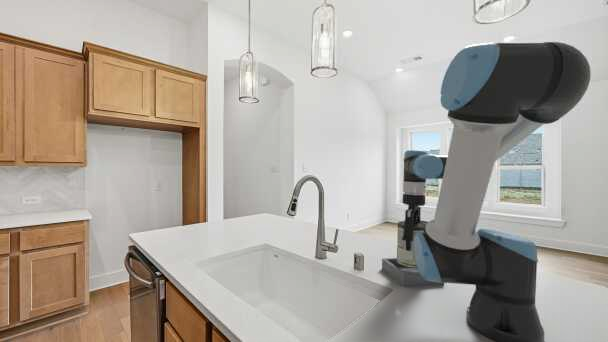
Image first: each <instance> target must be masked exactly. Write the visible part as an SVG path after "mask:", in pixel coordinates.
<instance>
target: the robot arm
mask: <svg viewBox="0 0 608 342" xmlns="http://www.w3.org/2000/svg"><path fill="white" fill-rule="evenodd" d="M591 76H592V75H591V67H590V63H589V61H588V58H587V57H586V56H585V55H584V54H583V52H581V50H579V49H578V48H576V47H574V46H573V45H570V44H567V43H565V42H560V41H559V42H558V41H546V42H545V41H544V42H496V43H495V42H489V43H478V44H472V45H468V46H466V47H464V48H462V49H461V50H459V52H457V53H456V54H455V56H454V57H453V59H452V60H451V61H450V63H449V64H448V66H447V69H446V71H445V74H444V76H443V79H442V84H441V87H440V104H441V106H442V107H443V108H444V109H445V110H447V111H448V112H447V119H449V120H450V122H451V123H452V124H453V128H452V133H451V138H450V142H449V147H448V152H447V155H446V154H444V155H440V154H439V155H438V154H430V153H429V154H428V153H427V151H425V150H420V149H419V150H418V149H417V150H416V149H415V150H413V149H411V150H410V149H409V150H406V151H405V152H404V155H403V156H404V157H403V182H402V192H403V194H402V204H403V205H406V206H408V207H407V209H406V210H405V211H404V212H405V215H404V221H405V225H404V234H403V238H402V240H405V243H404V259H407V260H413V229H412V228H413V227H414V226H415V223H419V222H420V223H421V221H422V220H421V217H422V216H421V209H422V208H421V206H422V207H423V206H425V205H426V195H425V194H426V188H428V185H427V183H426V182H427V180H432V179H434V180H435V179H437V180H438V179H439V180H441V184H440V190H439V194H438V200H437V204H436V209H435V214H434V218H433V219H432V220H430V221H427V222H428V223H427V224H426V227H425V232H424V233H422V232H419V233H416V234H415V236H414V253H415V259H416V263H417V267H418V270H419V272H420V274H421V276H422V277H423V278H424V279H425V280H428V281H433V282H439V283H444V284H458V285H459V284H460V285H471V286H472V285H473V286H475V290H474V292H473V294H472V297H471V300H470V302H469V304H468V305H467V308H466V314H465V315H466V321H467V323H468V324H469V326H470V327H471V328H473V329H474V330H475V331H477V333H480V334H481V335H483V336H484V337H487V338H489V339H491V340H493V341H496V342H545V331H544V328H543V325H542V324H541V320H540V316H539V313H538V310H537V307H536V294H537V273H538V272H537V271H538V270H537V269H538V263H539V260H538V248H537V246H536V244H535V243H534V242H533V241H531V240H529V239H528V238H525V237H521V236H518V235H516V234H512V233H511V234H510V233H507V232H503V231H498V230H494V229H487V228H480V229H478V230H477V231H476V229H477V225H478V222H479V219H480V216H481V215H480V214H481V211H482V207H483V205H484V201H485V197H486V194H487V191H488V190H487V189H488V187H489V184H490V180H491V177H492V172H493V170H494V166H495V163H496V162H497V161H498V160H499V159H500V158H502V157H503V156H504V155H506V154H507V153H508V152H509V151H511V150H512V149H513V148H514V147H516V146H517V145H519V144H520V143H521V142H523V141H524V140H525V139H526V138H528V137H529V136H530V135H531V134H533V133H534V132H536V130H538V129H539V128H541V127H542V126H543V125H550V124H553V123H556V122H557V121H559V120H560V119H561V118H563V117H565V116H566V114H568V113H569V112H570V111H572V110H573V109H574V108H575V107H576V106H577V105H578V103H579V102H580V101H581V100H582V99H583V97H584V95H585V94H586V92H587V90H588V88H589V85H590V81H591ZM407 236H409V237H407Z"/></svg>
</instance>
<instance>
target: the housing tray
mask: <svg viewBox="0 0 608 342" xmlns="http://www.w3.org/2000/svg"><path fill="white" fill-rule="evenodd" d="M381 260H382V261H381V270H383V271H384V272H385V273H386V274H388V276H390V277H391V278H393V279H394V280H396V281H397V283H398V284H400V285H402V286H403V287H414V286H433V285H444V284H445V283H439V282H433V281H428V280H425V279H424V278H423V277H422V276H421V274H420V272H419V270H418V268H412V267H407V266H403V265H401V264H399V263H398V262H397V257H391V258H390V257H389V258H387V257H386V258H384V257H383V258H382V259H381Z"/></svg>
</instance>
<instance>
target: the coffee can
mask: <svg viewBox="0 0 608 342" xmlns="http://www.w3.org/2000/svg"><path fill="white" fill-rule="evenodd" d="M404 225H405V220H404V221H403V220H402V221H397V243H396V245H397V246H396V258H397V262H398V263H399V264H401V265H403V266H407V267H412V268H418V267H417V263H416V259H415V253H414V236H415V234H416V233H419V232H422V233H424V232H425V227H426V224H424V223H420V222H419V223H415V226H414V227H413V228H412V229H413V260H407V259H404V243H405V240H402V238H403V234H404ZM407 237H409V236H407Z"/></svg>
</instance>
